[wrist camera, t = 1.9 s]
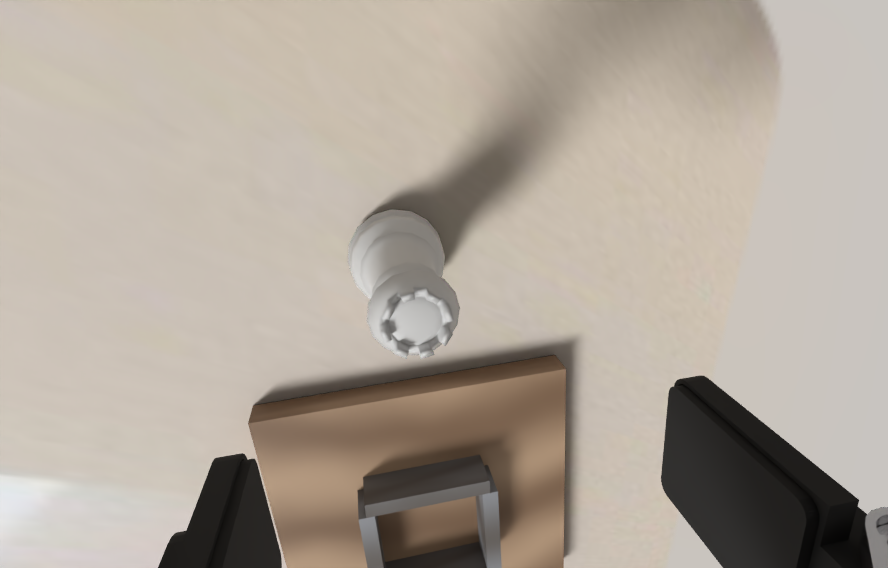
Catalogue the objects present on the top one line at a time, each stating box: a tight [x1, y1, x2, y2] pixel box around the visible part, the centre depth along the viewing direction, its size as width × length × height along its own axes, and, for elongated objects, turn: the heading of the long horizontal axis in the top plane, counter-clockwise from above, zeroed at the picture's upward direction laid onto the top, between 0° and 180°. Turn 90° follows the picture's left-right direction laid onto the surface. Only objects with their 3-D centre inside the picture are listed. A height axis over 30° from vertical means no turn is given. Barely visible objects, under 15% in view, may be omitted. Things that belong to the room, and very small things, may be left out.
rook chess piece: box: [348, 209, 460, 359], centre depth 21 cm, size 4×4×8 cm
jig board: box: [248, 355, 566, 568], centre depth 28 cm, size 16×16×4 cm
